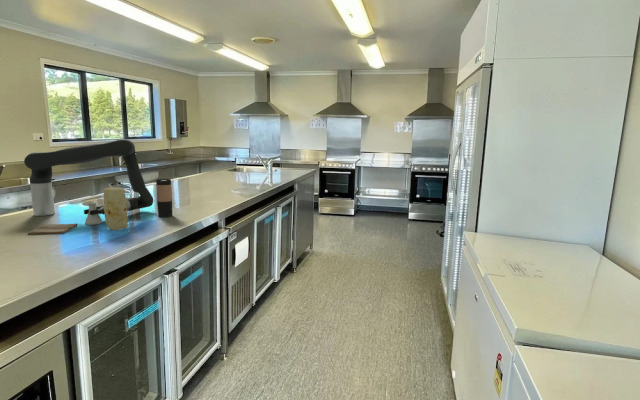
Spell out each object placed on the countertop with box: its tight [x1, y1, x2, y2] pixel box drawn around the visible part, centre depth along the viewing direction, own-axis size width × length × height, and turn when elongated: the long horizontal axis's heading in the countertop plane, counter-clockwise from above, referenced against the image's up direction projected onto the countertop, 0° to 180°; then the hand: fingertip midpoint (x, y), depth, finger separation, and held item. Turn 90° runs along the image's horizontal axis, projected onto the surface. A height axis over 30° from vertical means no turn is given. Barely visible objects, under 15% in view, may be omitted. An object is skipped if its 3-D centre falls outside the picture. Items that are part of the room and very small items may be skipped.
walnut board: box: [27, 223, 78, 236], centre depth 169 cm, size 14×14×1 cm
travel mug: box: [155, 178, 173, 218], centre depth 200 cm, size 8×8×20 cm
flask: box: [84, 202, 104, 226], centre depth 181 cm, size 7×7×10 cm
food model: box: [103, 186, 129, 232], centre depth 171 cm, size 10×7×20 cm
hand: (87, 212), depth 179 cm, fingers open, 3 cm apart
